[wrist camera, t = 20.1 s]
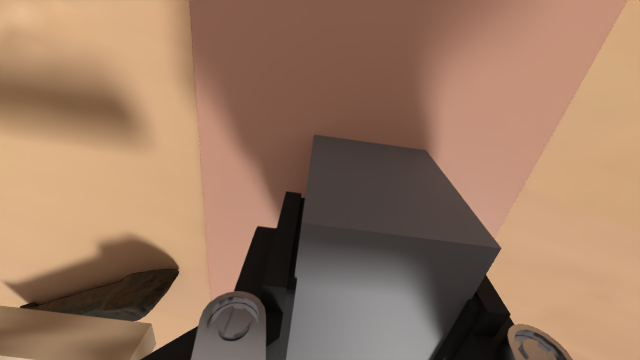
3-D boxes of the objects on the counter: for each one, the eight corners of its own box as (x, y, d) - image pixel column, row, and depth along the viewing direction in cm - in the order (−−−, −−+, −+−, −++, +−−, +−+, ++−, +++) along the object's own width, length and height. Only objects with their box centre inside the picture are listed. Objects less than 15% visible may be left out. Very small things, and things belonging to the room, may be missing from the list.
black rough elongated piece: (55, 320, 33) (16, 363, 29) (27, 298, 31) (-18, 340, 27) (196, 285, 29) (175, 327, 25) (174, 257, 27) (147, 298, 23)
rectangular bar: (151, 323, 16) (123, 369, 14) (156, 344, 17) (130, 390, 15) (-101, 293, 16) (-170, 336, 14) (-82, 316, 17) (-143, 359, 15)
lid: (575, -11, 9) (1061, -77, 3) (419, 315, 18) (470, 477, 11) (214, -72, 9) (-57, -294, 3) (225, 292, 17) (165, 448, 11)
